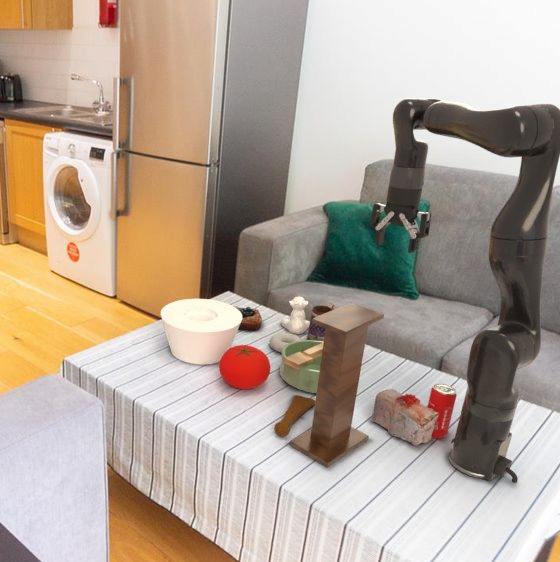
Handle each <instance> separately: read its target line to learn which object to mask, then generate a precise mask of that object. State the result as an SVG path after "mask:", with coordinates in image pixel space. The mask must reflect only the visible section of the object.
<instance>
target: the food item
mask: <svg viewBox="0 0 560 562" xmlns="http://www.w3.org/2000/svg"><path fill="white" fill-rule="evenodd" d="M438 417H439V413H438V412H435V411H433V410H431V409H430V408H428V406H425V405H423V404H422V403H421V400H420V399H419V398H417V397H416V395H415V394H411V393H410V394H409V393H405V394H403V393H401V392H399V391H397V390H396V389H394V388H388V389H385V390H382V391H380V392H377V394H376V395H375V400H374V404H373V409H372V415H371V422H373V423H375V424H378V425H379V426H380V427H383V428H384V429H386V430H387V431H388V433H389V435H390V436H392V437H394V438H400V439H401V440H403V441H406V442H408V443H410V444H412V446H416V447H417V446H418V445H420V444H427V443H428V442H429V441H431V440H432V438H433V437H432V433H433V429H434V426H435V422H436V421H437V419H438Z"/></svg>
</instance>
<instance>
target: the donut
mask: <svg viewBox="0 0 560 562" xmlns="http://www.w3.org/2000/svg"><path fill="white" fill-rule="evenodd" d="M299 340H302V338H301V337H299V336H298V335H297V334H294V333H288V332H280V333H276V334H274V335H272V336H271V337H270V338H269V345H270V347H271V348H272V349H273V350H274V351H275V352H278V353H280V354H282V349H283V347H284V346H285V345H286V344H289V343H291V342H294V341H299Z"/></svg>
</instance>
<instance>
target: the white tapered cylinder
mask: <svg viewBox="0 0 560 562" xmlns="http://www.w3.org/2000/svg"><path fill="white" fill-rule="evenodd" d="M233 306H234V305H232V304H229V303H227V302H223V301H221V300H220V301H219V300H216V299H208V298H185V299H179V300H175V301H172V302H169V303H168V304H166V305H164V306H163V307H162V309H161V310H160V317H161V320H162V325H163V327H164V331H165V334H166V338H167V341H168V345H169V348H170V351H171V354H172V355H173V356H174V358H176V359H178V360H180V361H182V362H185V363H188V364H192V365H193V364H194V365H212V364H217V363H220V360H221V358H222V356H223V354H224V353H225V352H226V351H227V350H228V349H230V348H231V347H232V346H233V342H234V341H235V338H236V335H237V334H238V331H239V330H238V328H239V326H240V323H241V321H242V314H241V312H240V311H239V310H238V309H237V308H235V307H236V306H235V307H233Z"/></svg>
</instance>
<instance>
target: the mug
mask: <svg viewBox="0 0 560 562" xmlns="http://www.w3.org/2000/svg"><path fill="white" fill-rule="evenodd" d="M335 307H336V306H335V305H334V304H333V303H332V302H328V303H327V304H326V305H315V306H313V307H312V309H311V315H310V320H309V321H310V326H309V327H308V329H307V337H306V340H316V341H323V342H324V336H325V329H326V328H324V327H321V326H319V325H316V324H314V323H312V319H313V318H315V317H318V316H320V315H322V314H325V313H327V312H330V311H332V310H334V309H336V308H335Z"/></svg>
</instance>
